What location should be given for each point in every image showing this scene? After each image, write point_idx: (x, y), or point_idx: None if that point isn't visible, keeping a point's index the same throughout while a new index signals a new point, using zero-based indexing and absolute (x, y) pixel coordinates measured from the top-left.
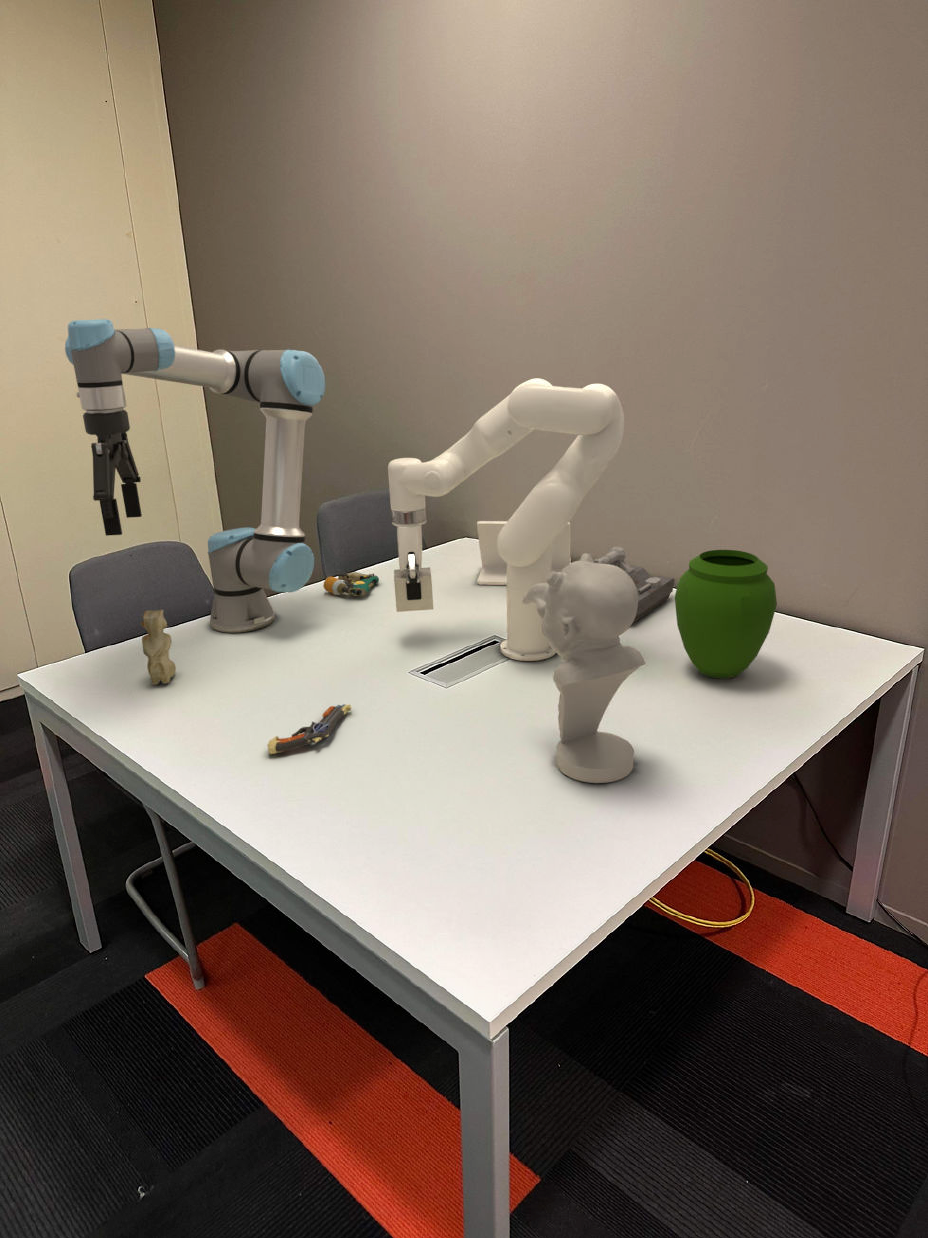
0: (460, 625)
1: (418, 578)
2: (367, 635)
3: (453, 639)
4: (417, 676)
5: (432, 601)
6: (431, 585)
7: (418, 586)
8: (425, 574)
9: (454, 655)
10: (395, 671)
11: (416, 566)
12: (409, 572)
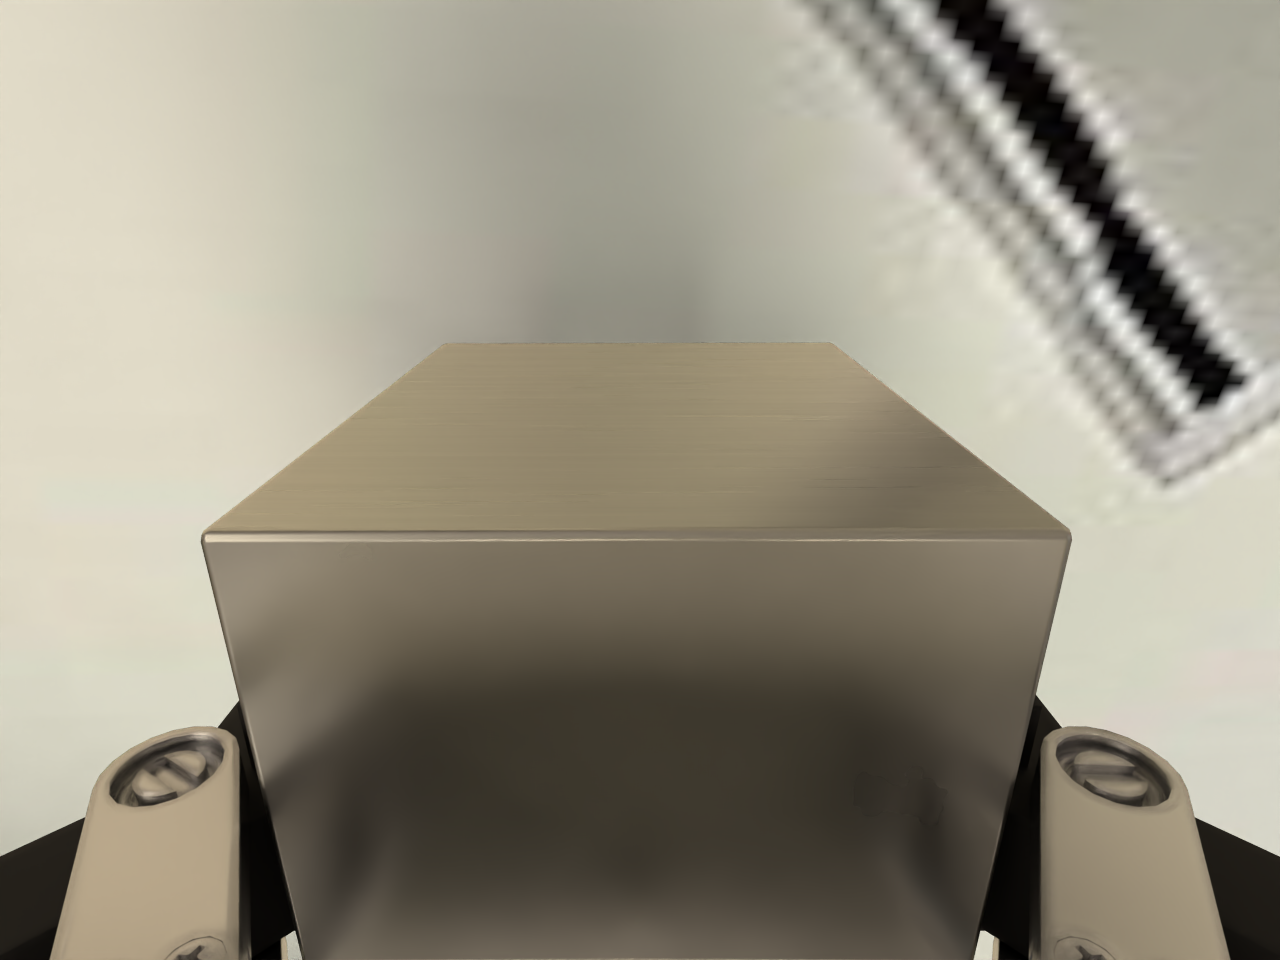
0: (287, 23)
1: (1189, 825)
2: None
3: (625, 119)
4: (1253, 430)
5: (866, 370)
6: (969, 451)
7: None
8: (860, 664)
9: (973, 134)
10: (1118, 563)
11: (246, 868)
12: (590, 955)
